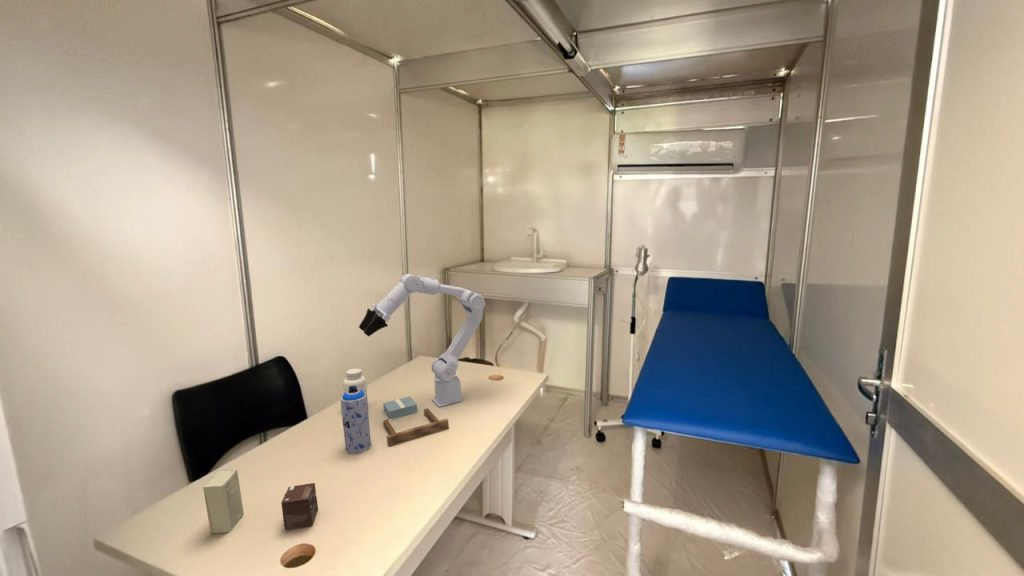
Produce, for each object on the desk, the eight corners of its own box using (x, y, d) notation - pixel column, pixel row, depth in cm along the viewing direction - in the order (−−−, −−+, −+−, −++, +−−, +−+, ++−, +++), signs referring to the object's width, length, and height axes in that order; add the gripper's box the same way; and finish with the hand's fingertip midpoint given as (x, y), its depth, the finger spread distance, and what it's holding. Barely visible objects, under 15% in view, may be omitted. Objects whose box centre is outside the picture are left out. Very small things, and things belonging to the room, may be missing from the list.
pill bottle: (372, 404, 158) (368, 367, 155) (362, 414, 150) (358, 375, 147) (351, 403, 159) (348, 366, 156) (341, 414, 151) (337, 374, 148)
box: (312, 526, 97) (309, 498, 95) (284, 531, 95) (280, 502, 94) (318, 508, 102) (315, 482, 101) (292, 513, 101) (288, 485, 100)
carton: (410, 405, 158) (409, 396, 157) (417, 413, 151) (416, 404, 150) (383, 411, 153) (383, 402, 152) (389, 420, 146) (389, 411, 145)
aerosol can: (340, 447, 129) (334, 387, 125) (364, 437, 135) (358, 379, 131) (352, 457, 124) (346, 394, 120) (376, 446, 129) (371, 386, 126)
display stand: (433, 411, 151) (433, 404, 150) (448, 428, 139) (448, 420, 139) (377, 427, 141) (376, 419, 140) (388, 446, 129) (388, 437, 128)
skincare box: (225, 515, 101) (218, 469, 99) (245, 513, 101) (238, 468, 99) (209, 534, 95) (201, 486, 93) (230, 533, 95) (222, 485, 93)
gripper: (378, 291, 147) (350, 319, 144) (389, 297, 135) (359, 329, 132) (392, 304, 151) (365, 332, 147) (404, 311, 139) (375, 342, 135)
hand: (363, 331), depth 140 cm, fingers open, 7 cm apart
